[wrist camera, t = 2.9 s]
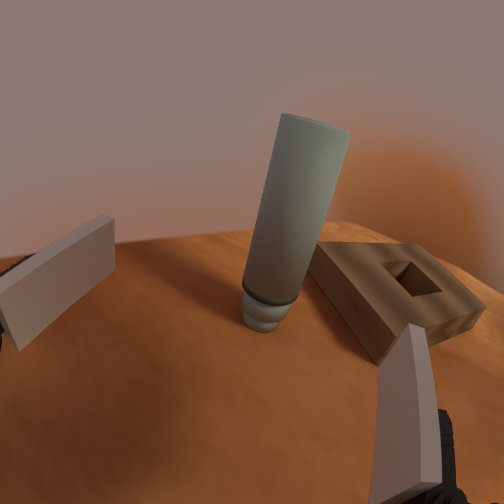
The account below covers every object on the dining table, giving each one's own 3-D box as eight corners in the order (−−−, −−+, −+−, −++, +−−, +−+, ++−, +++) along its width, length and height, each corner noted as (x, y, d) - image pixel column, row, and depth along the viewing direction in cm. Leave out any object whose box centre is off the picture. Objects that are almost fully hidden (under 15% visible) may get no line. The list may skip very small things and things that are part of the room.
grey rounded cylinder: (274, 300, 28) (327, 123, 20) (293, 335, 24) (365, 138, 16) (228, 303, 26) (270, 110, 18) (243, 341, 23) (301, 122, 15)
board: (408, 264, 40) (418, 244, 38) (471, 328, 29) (486, 306, 28) (306, 268, 34) (315, 241, 32) (376, 365, 23) (396, 336, 21)
